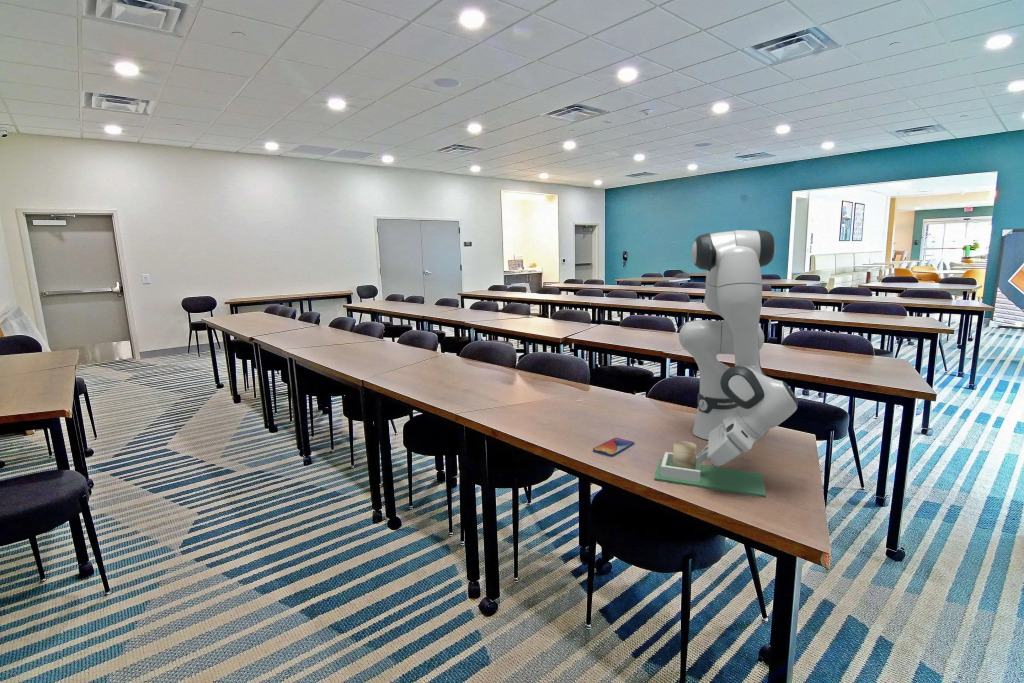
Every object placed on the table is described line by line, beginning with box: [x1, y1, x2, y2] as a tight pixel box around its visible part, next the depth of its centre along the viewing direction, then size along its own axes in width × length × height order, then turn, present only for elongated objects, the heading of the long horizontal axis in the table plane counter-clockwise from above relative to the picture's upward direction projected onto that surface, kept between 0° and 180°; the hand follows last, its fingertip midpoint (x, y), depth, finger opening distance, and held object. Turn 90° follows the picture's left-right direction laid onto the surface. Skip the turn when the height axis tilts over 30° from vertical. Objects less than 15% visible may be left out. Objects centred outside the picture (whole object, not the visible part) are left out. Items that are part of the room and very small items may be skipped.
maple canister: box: [672, 440, 697, 470], centre depth 137 cm, size 6×6×8 cm
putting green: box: [653, 451, 767, 498], centre depth 135 cm, size 27×14×4 cm, turn 67°
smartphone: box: [592, 437, 635, 458], centre depth 158 cm, size 7×15×1 cm, turn 139°
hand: (698, 459), depth 135 cm, fingers closed, pressing on maple canister
